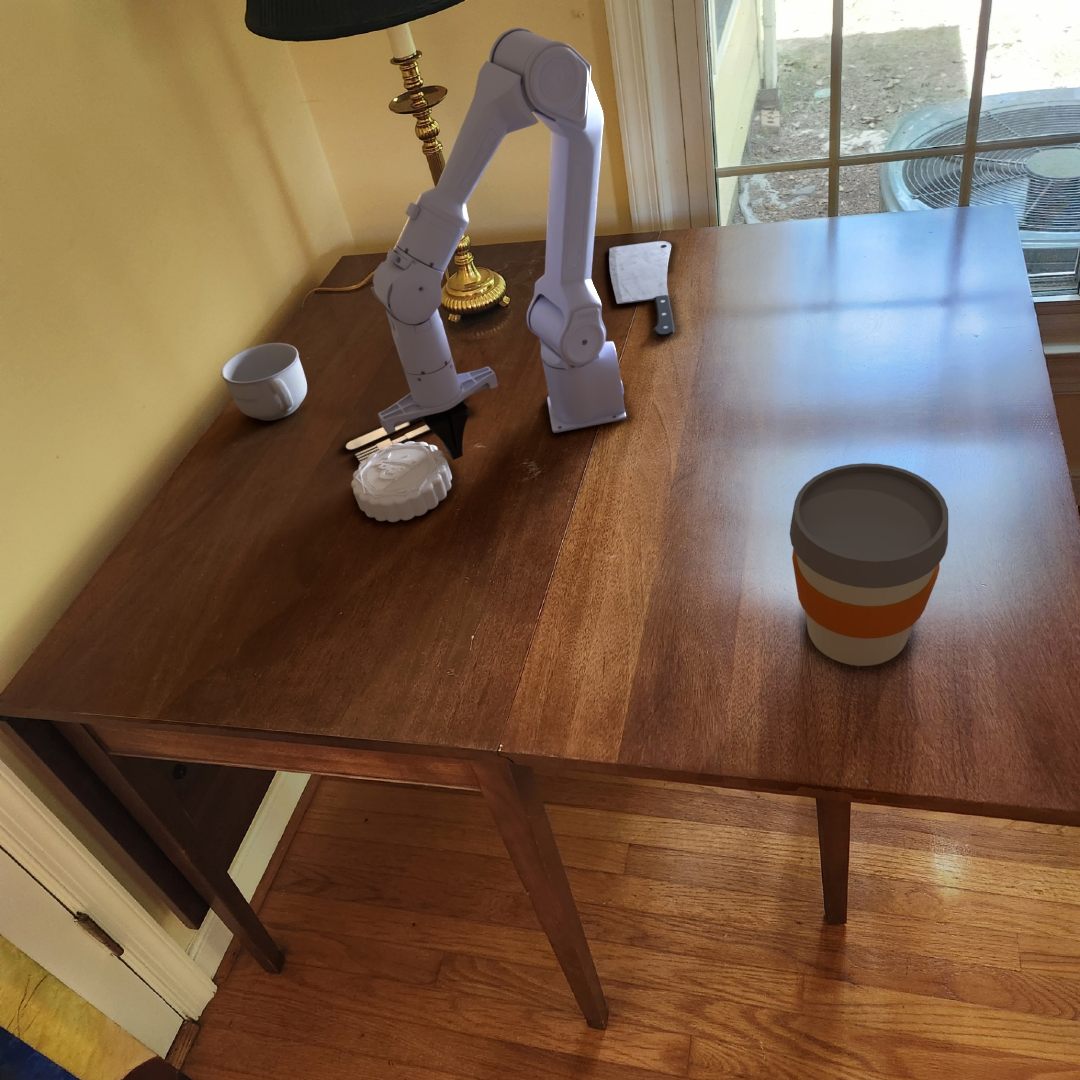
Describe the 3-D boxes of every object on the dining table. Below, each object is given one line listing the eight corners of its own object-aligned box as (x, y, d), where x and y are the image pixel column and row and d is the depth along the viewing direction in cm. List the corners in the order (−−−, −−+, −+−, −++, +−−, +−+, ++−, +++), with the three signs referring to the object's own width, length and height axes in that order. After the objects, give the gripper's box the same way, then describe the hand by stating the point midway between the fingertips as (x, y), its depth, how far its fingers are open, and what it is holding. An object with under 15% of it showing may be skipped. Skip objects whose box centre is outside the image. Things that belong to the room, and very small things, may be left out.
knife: (458, 396, 124) (456, 390, 123) (463, 402, 123) (462, 397, 122) (344, 445, 120) (342, 440, 120) (349, 452, 119) (346, 447, 118)
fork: (464, 408, 122) (463, 405, 121) (471, 416, 120) (470, 414, 120) (355, 455, 118) (354, 453, 118) (361, 464, 116) (360, 462, 116)
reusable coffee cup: (843, 703, 78) (854, 587, 68) (761, 612, 87) (760, 497, 77) (960, 644, 81) (988, 523, 70) (869, 561, 89) (882, 443, 79)
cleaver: (608, 344, 127) (679, 335, 125) (608, 341, 126) (679, 332, 125) (609, 249, 148) (670, 241, 146) (609, 246, 147) (670, 238, 146)
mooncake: (411, 448, 117) (404, 426, 115) (472, 480, 110) (465, 457, 108) (339, 499, 112) (330, 477, 109) (398, 537, 105) (389, 514, 102)
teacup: (238, 403, 133) (215, 357, 128) (307, 377, 135) (288, 330, 130) (253, 451, 123) (229, 403, 118) (328, 422, 125) (308, 374, 120)
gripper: (470, 323, 106) (493, 416, 116) (357, 370, 103) (391, 461, 112) (494, 347, 102) (517, 442, 111) (377, 397, 98) (410, 490, 107)
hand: (455, 454), depth 111 cm, fingers closed
